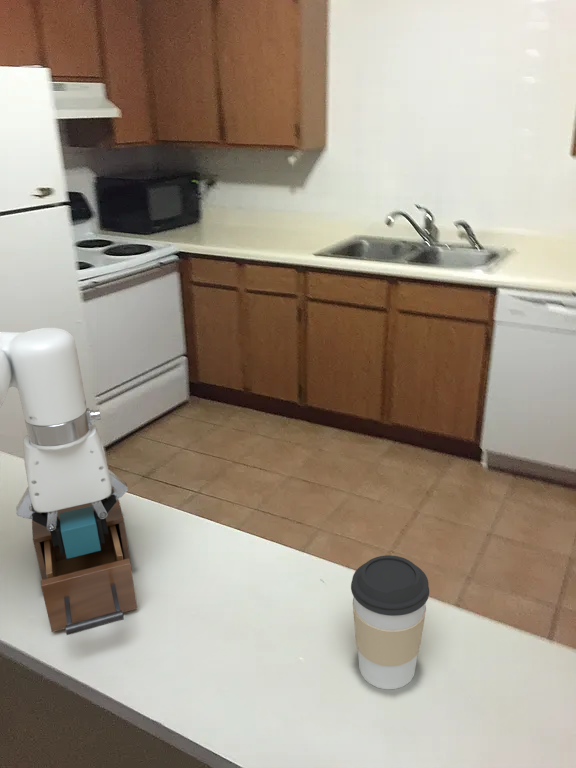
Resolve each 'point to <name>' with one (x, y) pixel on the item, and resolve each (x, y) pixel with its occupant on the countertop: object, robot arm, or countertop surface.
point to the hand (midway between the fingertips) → (81, 542)
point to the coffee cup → (389, 619)
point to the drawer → (87, 586)
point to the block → (79, 532)
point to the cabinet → (112, 516)
